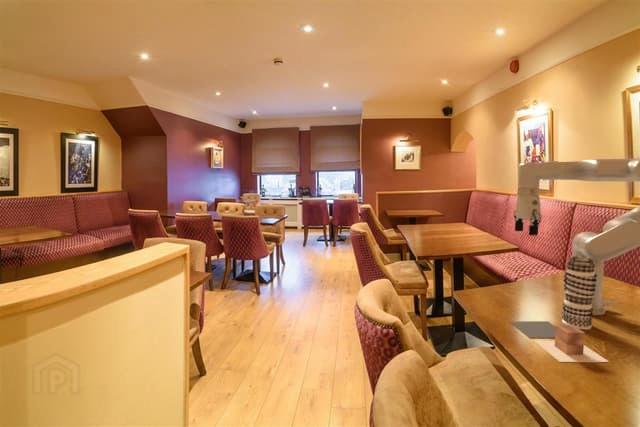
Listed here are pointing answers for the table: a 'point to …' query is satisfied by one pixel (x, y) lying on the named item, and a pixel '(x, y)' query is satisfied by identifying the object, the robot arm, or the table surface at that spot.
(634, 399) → the table surface
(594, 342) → the table surface
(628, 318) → the table surface
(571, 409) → the table surface
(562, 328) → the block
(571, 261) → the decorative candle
